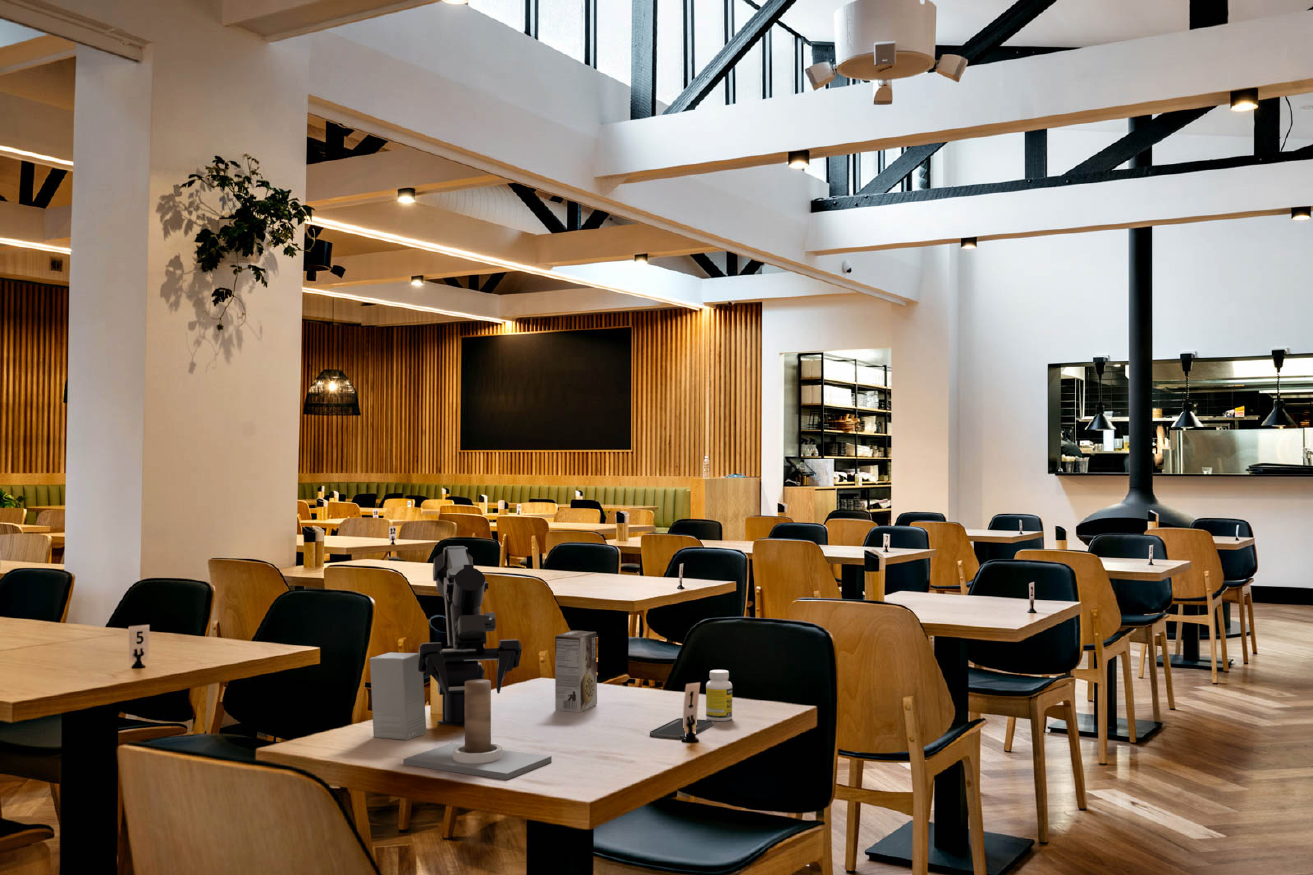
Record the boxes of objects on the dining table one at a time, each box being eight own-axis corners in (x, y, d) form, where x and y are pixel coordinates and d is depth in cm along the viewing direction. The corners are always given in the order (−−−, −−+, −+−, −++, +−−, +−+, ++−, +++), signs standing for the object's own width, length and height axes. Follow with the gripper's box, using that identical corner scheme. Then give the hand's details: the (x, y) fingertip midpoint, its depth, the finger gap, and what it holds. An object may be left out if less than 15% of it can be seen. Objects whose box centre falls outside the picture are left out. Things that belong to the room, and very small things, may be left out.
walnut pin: (459, 757, 188) (459, 681, 189) (482, 753, 191) (482, 678, 192) (473, 761, 185) (473, 684, 185) (495, 757, 188) (495, 681, 188)
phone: (647, 732, 207) (679, 717, 221) (647, 738, 207) (679, 723, 221) (685, 736, 204) (714, 720, 218) (685, 742, 204) (714, 726, 218)
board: (403, 764, 187) (403, 749, 187) (451, 748, 199) (451, 734, 199) (507, 779, 177) (507, 764, 177) (551, 761, 188) (551, 747, 188)
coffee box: (571, 702, 241) (571, 630, 242) (597, 704, 239) (597, 631, 240) (553, 710, 233) (553, 635, 234) (581, 712, 231) (581, 636, 232)
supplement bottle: (730, 722, 220) (730, 673, 220) (704, 721, 221) (703, 672, 221) (734, 716, 225) (733, 669, 226) (708, 715, 226) (707, 668, 227)
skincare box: (427, 734, 211) (427, 652, 212) (403, 742, 204) (404, 657, 205) (392, 730, 214) (392, 650, 215) (368, 738, 208) (368, 655, 209)
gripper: (419, 599, 199) (423, 669, 188) (520, 596, 205) (529, 664, 194) (416, 636, 207) (419, 706, 196) (513, 633, 212) (522, 700, 201)
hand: (473, 693), depth 196 cm, fingers open, 9 cm apart
